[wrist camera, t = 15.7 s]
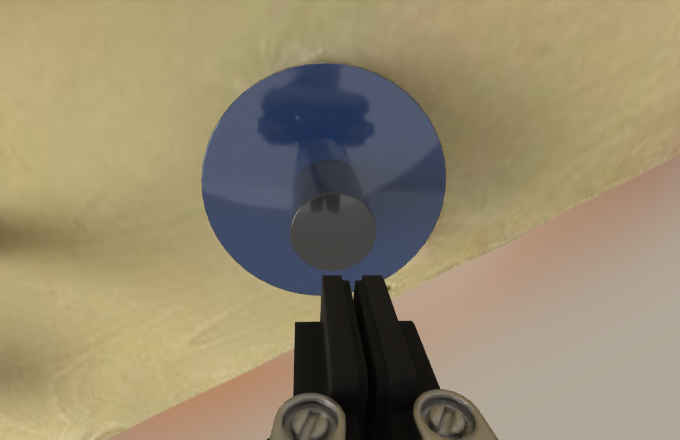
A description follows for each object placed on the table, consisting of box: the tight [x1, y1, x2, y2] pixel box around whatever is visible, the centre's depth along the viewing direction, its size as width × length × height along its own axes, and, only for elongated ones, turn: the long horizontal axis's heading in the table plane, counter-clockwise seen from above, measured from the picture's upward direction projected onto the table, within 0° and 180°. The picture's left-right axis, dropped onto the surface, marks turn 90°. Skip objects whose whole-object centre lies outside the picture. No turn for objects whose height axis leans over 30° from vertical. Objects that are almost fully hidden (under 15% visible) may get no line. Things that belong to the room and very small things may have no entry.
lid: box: [201, 62, 446, 295], centre depth 20 cm, size 13×13×6 cm
